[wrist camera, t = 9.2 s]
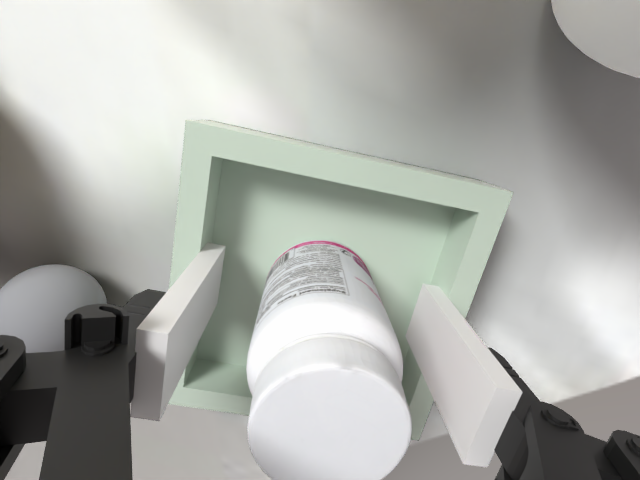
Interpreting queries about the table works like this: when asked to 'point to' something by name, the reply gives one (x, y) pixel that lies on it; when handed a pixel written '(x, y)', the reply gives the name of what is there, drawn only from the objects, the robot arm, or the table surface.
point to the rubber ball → (45, 304)
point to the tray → (319, 224)
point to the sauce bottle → (603, 31)
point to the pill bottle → (325, 371)
